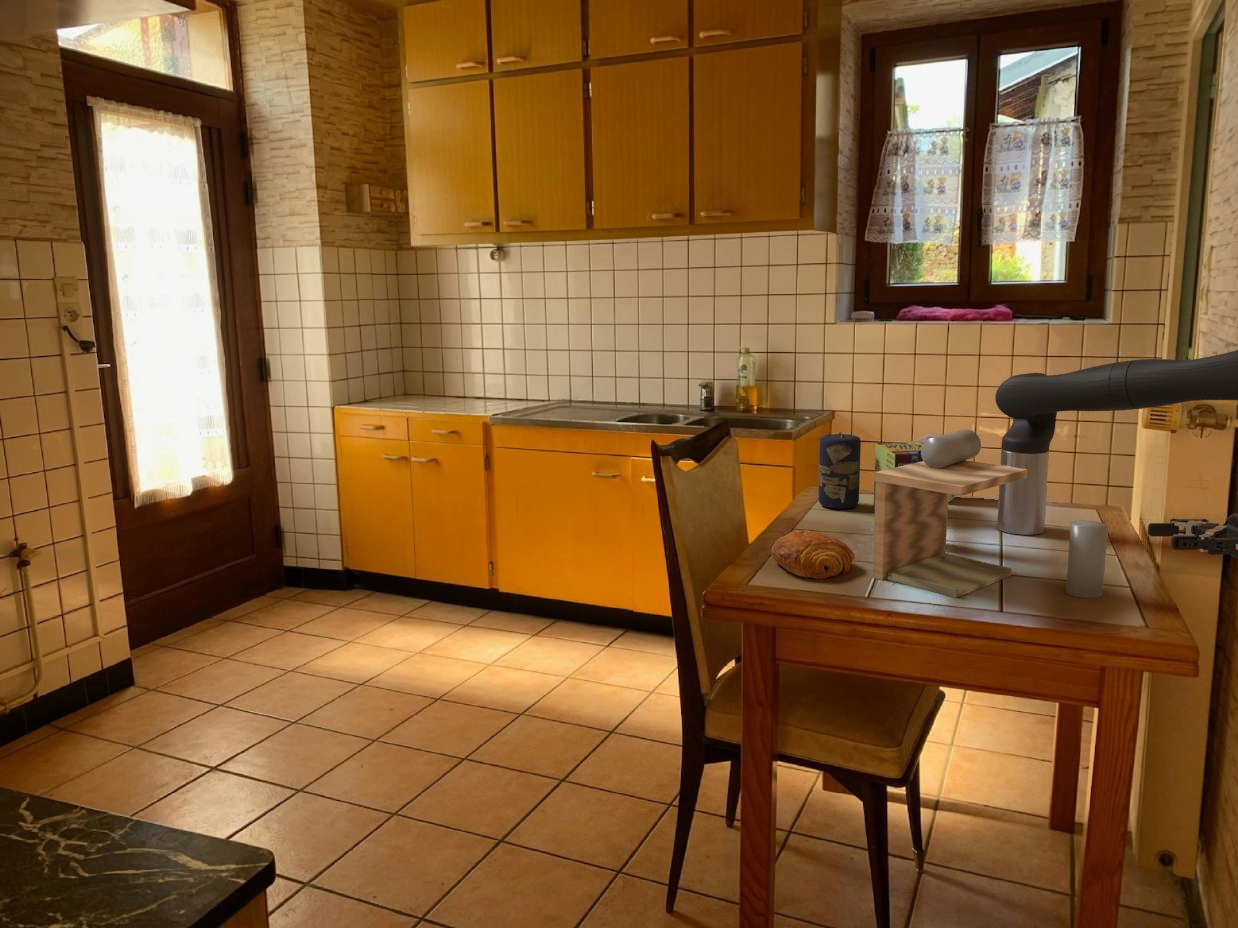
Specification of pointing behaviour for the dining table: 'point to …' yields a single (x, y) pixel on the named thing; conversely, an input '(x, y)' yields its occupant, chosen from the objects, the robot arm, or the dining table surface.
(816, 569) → the croissant
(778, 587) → the dining table surface
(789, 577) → the dining table surface
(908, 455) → the protein box
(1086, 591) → the grey rounded cylinder
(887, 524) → the wooden shelf stand
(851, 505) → the canister
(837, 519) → the dining table surface
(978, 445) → the grey lying cylinder
